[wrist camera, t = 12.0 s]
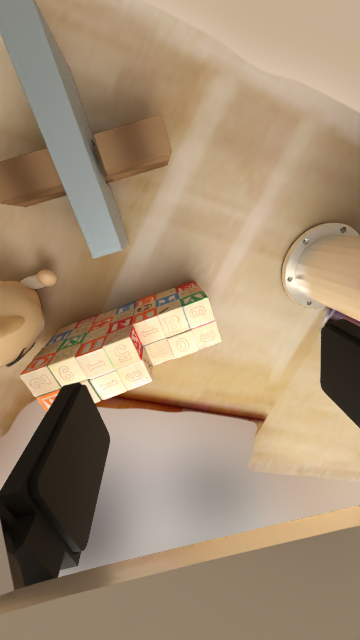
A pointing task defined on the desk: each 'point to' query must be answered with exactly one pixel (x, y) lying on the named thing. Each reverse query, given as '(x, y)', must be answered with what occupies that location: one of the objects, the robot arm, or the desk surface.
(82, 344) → the stack of blocks
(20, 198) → the brown wooden block
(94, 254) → the blue board
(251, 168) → the desk surface
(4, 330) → the kitten
